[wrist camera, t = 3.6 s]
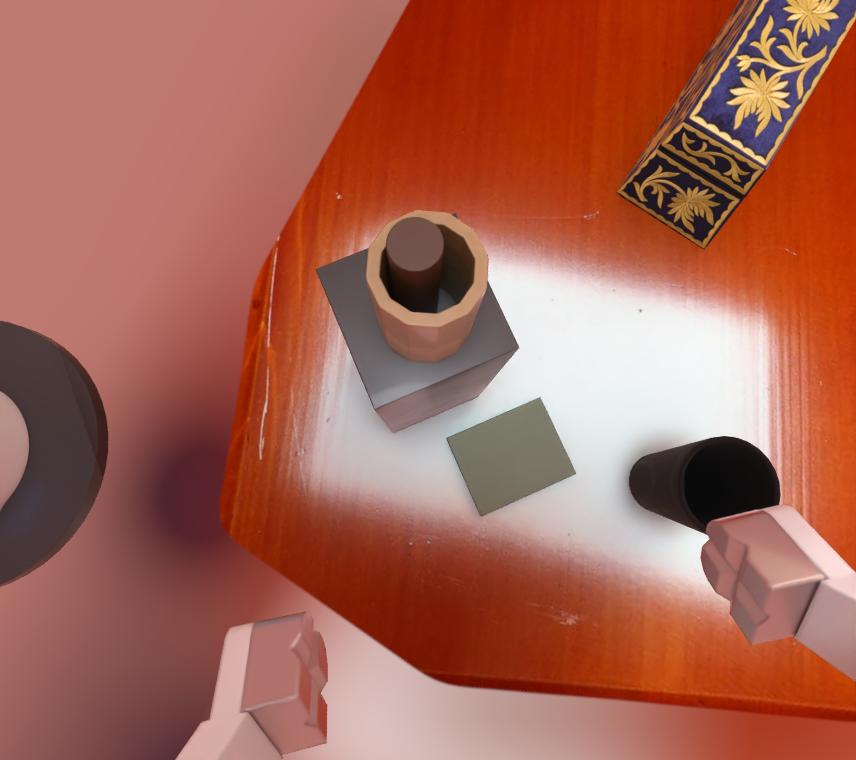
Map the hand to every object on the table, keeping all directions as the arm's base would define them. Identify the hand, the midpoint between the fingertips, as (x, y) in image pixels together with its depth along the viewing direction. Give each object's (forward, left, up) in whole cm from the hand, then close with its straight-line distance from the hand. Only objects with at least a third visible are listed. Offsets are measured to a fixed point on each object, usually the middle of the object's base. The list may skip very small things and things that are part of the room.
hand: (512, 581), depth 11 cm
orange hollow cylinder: (+3, +10, -18) cm, 21 cm away
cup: (+20, -8, -41) cm, 46 cm away
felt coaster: (+8, 0, -40) cm, 41 cm away
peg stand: (+3, +11, -40) cm, 42 cm away
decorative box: (+45, +24, -41) cm, 65 cm away
